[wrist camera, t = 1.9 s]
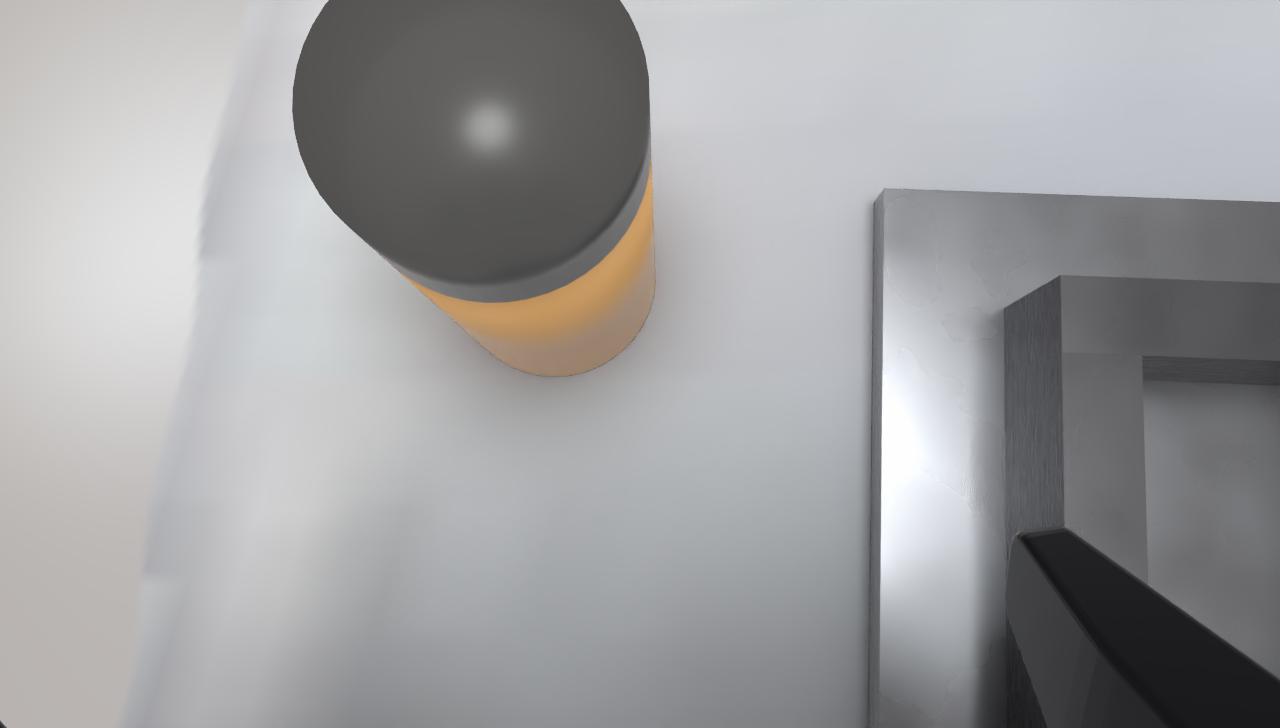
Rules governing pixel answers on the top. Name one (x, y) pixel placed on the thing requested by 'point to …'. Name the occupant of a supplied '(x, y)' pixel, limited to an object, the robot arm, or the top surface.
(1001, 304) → the grey square socket
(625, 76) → the grey-capped orange cylinder
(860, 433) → the top surface
